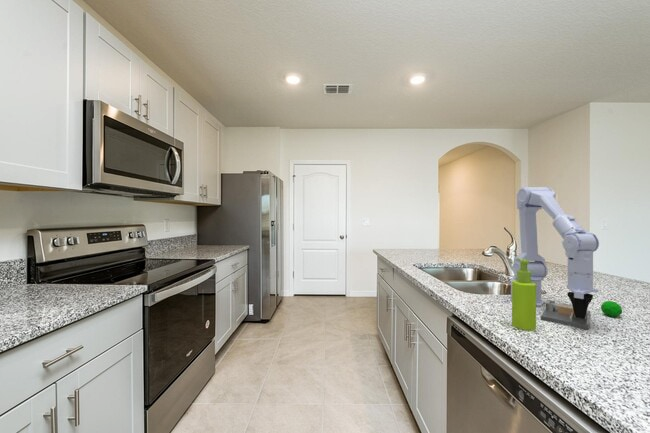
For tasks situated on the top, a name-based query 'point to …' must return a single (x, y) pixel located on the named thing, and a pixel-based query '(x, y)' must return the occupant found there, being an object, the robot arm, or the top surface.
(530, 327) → the soap dispenser
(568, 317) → the mount board
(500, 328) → the top surface
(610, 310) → the polyhedron
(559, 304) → the grey flat bar
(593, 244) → the robot arm
